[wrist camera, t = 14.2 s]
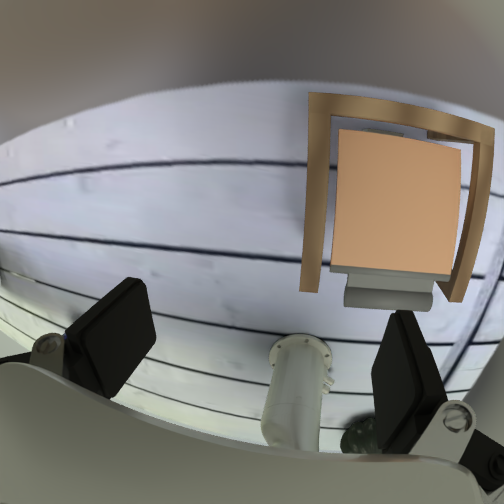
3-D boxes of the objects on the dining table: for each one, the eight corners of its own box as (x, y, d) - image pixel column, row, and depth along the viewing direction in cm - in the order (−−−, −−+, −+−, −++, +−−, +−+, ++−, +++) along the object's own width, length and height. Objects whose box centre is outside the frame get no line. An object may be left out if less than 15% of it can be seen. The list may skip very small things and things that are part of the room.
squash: (349, 461, 59) (380, 484, 45) (321, 441, 58) (354, 468, 43) (381, 424, 63) (416, 441, 49) (357, 401, 62) (395, 419, 48)
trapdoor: (454, 151, 24) (463, 148, 22) (436, 307, 28) (444, 315, 25) (337, 132, 27) (339, 127, 24) (325, 300, 30) (326, 308, 28)
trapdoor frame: (438, 128, 32) (494, 128, 18) (423, 250, 40) (461, 302, 26) (311, 110, 36) (308, 92, 22) (306, 239, 44) (299, 291, 30)
